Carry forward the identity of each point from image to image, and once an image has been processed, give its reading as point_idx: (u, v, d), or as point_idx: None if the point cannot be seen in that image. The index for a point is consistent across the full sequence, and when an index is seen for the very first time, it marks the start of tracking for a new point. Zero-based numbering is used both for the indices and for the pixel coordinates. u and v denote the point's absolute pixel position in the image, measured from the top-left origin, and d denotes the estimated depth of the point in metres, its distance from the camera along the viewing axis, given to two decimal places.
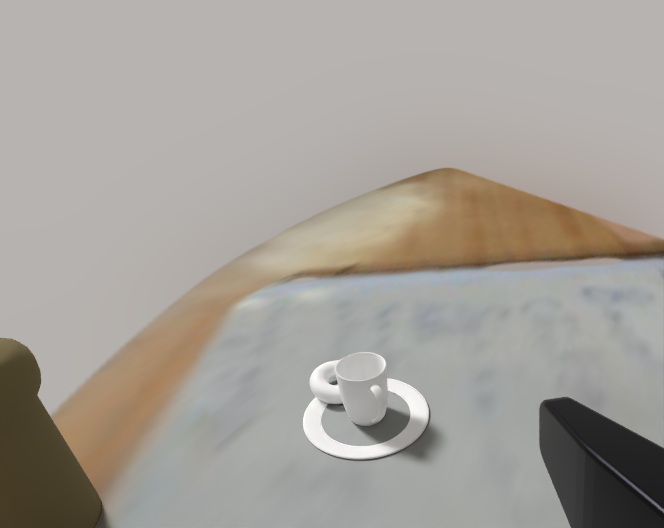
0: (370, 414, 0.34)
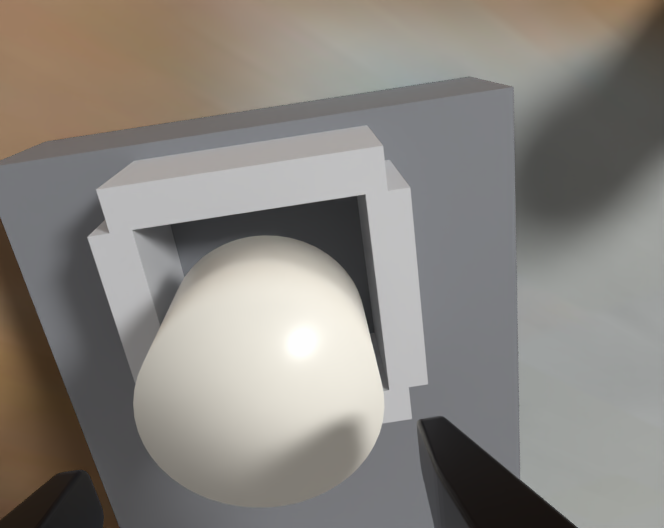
0: None
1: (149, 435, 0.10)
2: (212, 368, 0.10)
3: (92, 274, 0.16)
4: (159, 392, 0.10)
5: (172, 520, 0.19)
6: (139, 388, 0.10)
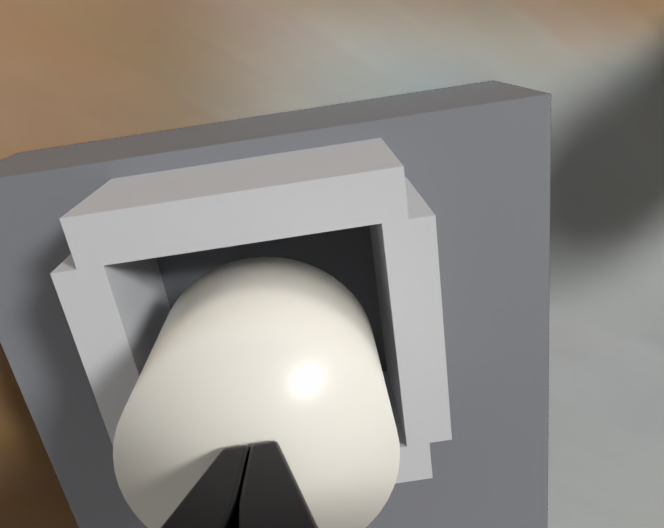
0: None
1: (132, 490, 0.09)
2: (203, 416, 0.08)
3: None
4: (142, 443, 0.08)
5: None
6: (119, 438, 0.08)
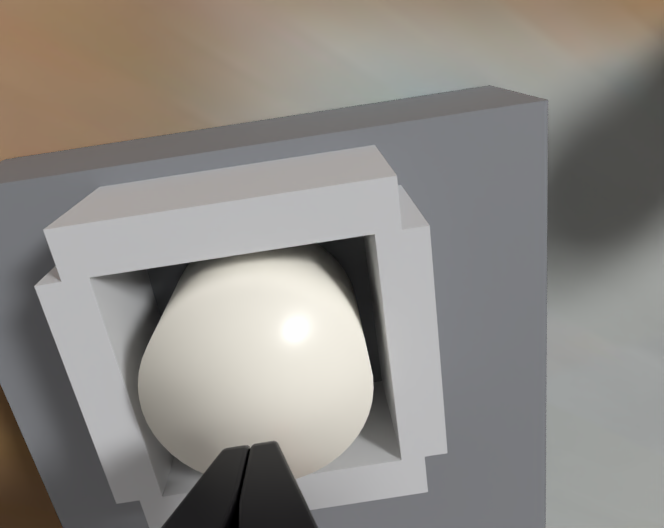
0: None
1: (152, 415, 0.11)
2: (211, 351, 0.10)
3: None
4: (162, 374, 0.10)
5: None
6: (143, 370, 0.10)
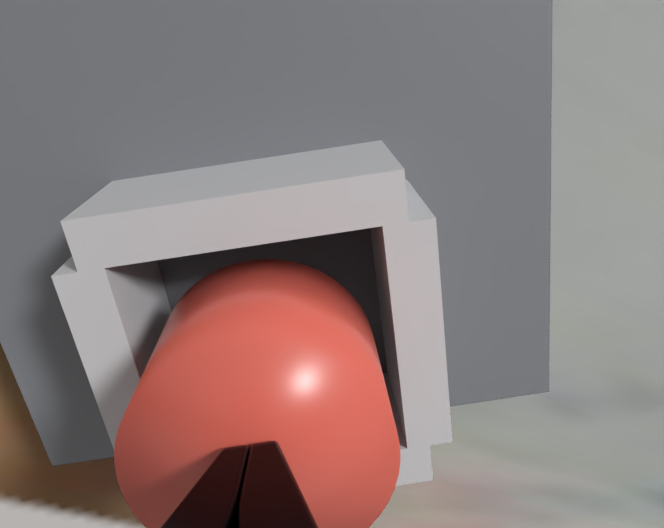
0: None
1: None
2: None
3: None
4: None
5: None
6: None
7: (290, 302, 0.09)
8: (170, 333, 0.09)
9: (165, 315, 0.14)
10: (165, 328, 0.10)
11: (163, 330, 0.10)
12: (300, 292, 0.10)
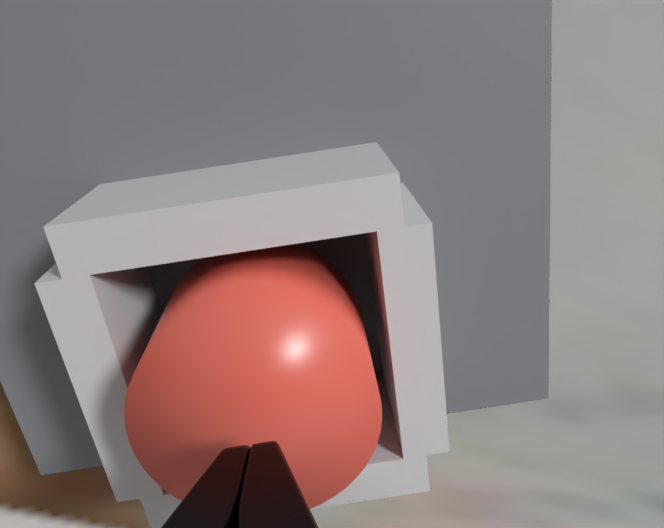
0: None
1: None
2: None
3: None
4: None
5: None
6: None
7: (283, 276, 0.10)
8: (174, 304, 0.10)
9: (155, 321, 0.13)
10: (169, 302, 0.11)
11: (167, 304, 0.11)
12: (292, 268, 0.11)
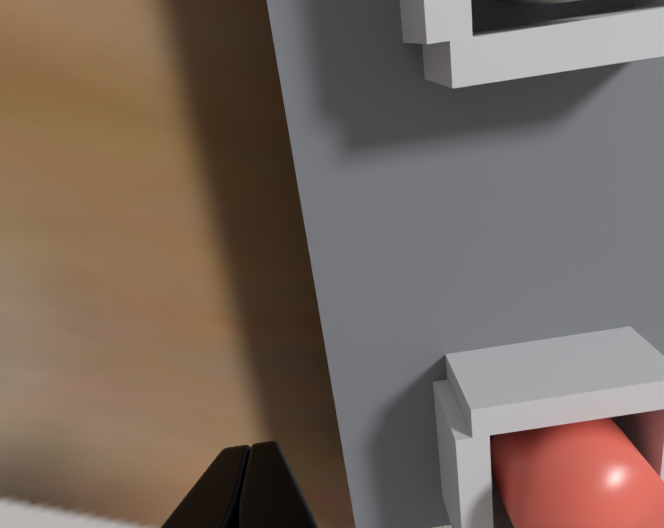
0: None
1: None
2: None
3: None
4: None
5: (370, 263, 0.17)
6: None
7: (606, 434, 0.16)
8: (537, 452, 0.16)
9: None
10: (517, 443, 0.17)
11: (512, 443, 0.17)
12: (603, 425, 0.17)
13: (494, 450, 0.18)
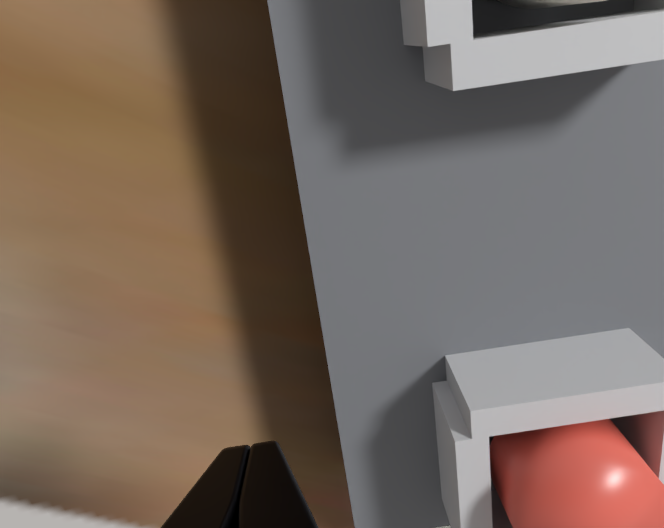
0: None
1: None
2: None
3: None
4: None
5: (370, 264, 0.17)
6: None
7: (605, 436, 0.16)
8: (536, 453, 0.17)
9: None
10: (516, 444, 0.17)
11: (511, 444, 0.18)
12: (602, 426, 0.17)
13: (493, 451, 0.18)
